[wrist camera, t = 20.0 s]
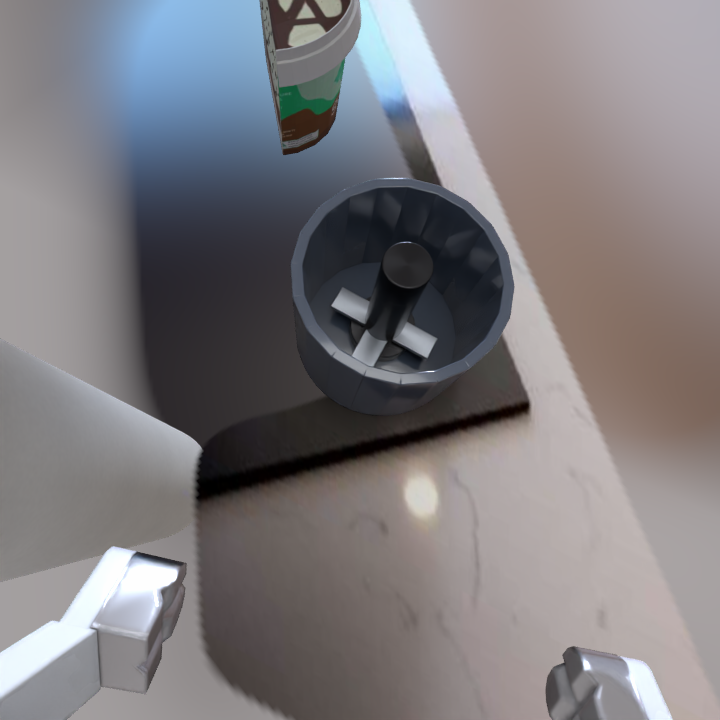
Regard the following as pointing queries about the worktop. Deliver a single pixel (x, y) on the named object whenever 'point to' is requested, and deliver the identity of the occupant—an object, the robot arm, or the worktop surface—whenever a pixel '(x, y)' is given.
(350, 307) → the blade unit
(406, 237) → the processor bowl
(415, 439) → the worktop surface
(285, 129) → the food container
